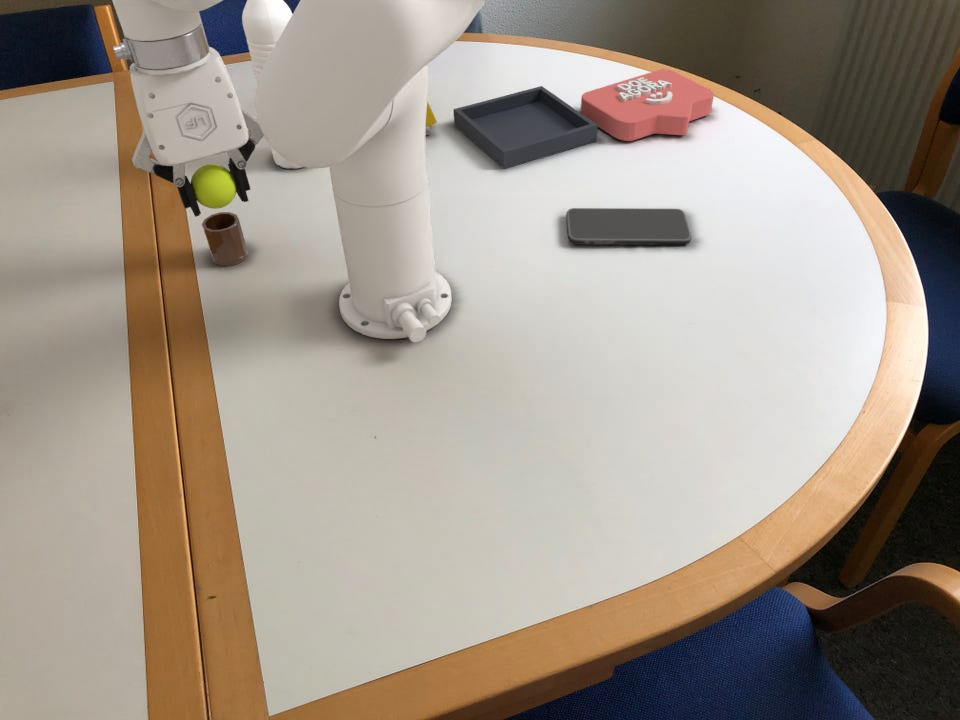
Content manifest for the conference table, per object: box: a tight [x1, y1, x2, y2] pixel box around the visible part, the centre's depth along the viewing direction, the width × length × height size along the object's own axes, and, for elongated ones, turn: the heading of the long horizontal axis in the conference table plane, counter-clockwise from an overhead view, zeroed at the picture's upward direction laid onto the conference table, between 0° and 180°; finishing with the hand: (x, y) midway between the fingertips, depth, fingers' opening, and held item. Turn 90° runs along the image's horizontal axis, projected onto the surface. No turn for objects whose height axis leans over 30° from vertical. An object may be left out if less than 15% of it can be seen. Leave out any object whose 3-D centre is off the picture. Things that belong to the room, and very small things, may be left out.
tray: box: [453, 85, 599, 170], centre depth 118 cm, size 16×16×3 cm
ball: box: [190, 163, 237, 210], centre depth 91 cm, size 5×5×5 cm
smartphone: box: [565, 207, 692, 246], centre depth 99 cm, size 7×1×15 cm
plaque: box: [580, 69, 715, 142], centre depth 120 cm, size 18×4×15 cm
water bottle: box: [241, 0, 304, 170], centre depth 107 cm, size 9×6×25 cm
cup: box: [201, 211, 249, 267], centre depth 96 cm, size 4×4×5 cm
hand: (218, 202), depth 92 cm, fingers closed on ball, 4 cm apart
